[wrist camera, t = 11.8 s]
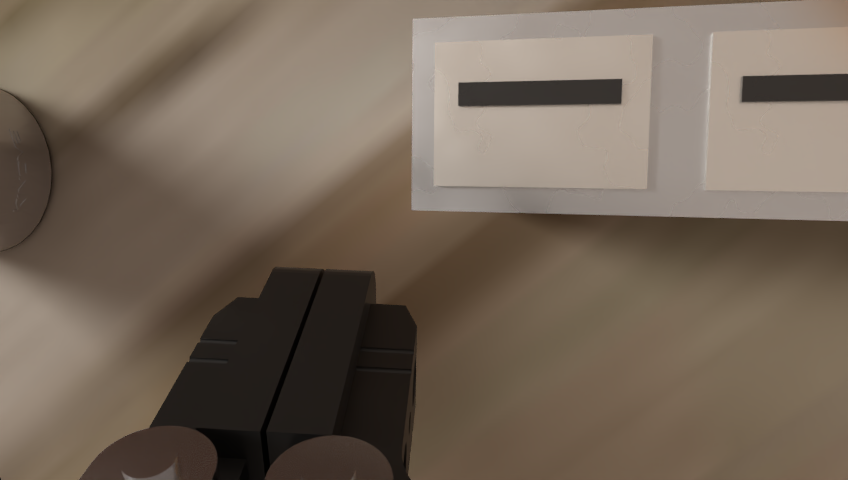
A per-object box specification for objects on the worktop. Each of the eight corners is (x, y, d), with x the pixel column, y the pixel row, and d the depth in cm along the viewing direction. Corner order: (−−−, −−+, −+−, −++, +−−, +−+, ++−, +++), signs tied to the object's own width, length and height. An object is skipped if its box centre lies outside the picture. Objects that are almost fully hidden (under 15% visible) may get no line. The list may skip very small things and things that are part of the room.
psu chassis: (472, 197, 33) (387, 215, 21) (474, 59, 32) (388, -5, 20) (984, 207, 27) (1268, 239, 15) (999, 43, 27) (1308, -57, 15)
